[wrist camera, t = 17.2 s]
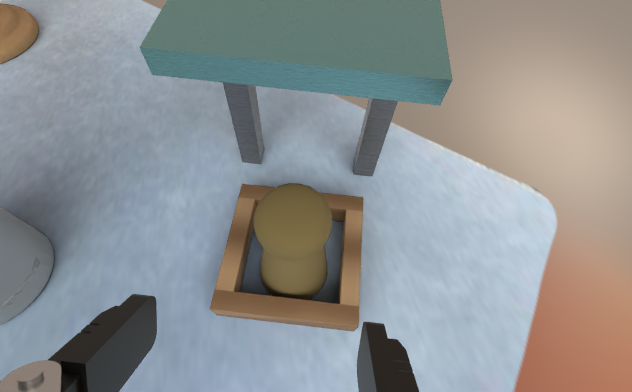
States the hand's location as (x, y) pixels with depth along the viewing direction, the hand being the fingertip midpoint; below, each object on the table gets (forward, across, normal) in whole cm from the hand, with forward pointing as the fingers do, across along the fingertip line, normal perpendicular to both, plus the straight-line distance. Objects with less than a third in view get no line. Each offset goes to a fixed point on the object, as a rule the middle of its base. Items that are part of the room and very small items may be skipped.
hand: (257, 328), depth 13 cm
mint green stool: (+22, 0, 0) cm, 22 cm away
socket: (+17, 0, +5) cm, 18 cm away
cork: (+16, 0, +6) cm, 17 cm away
